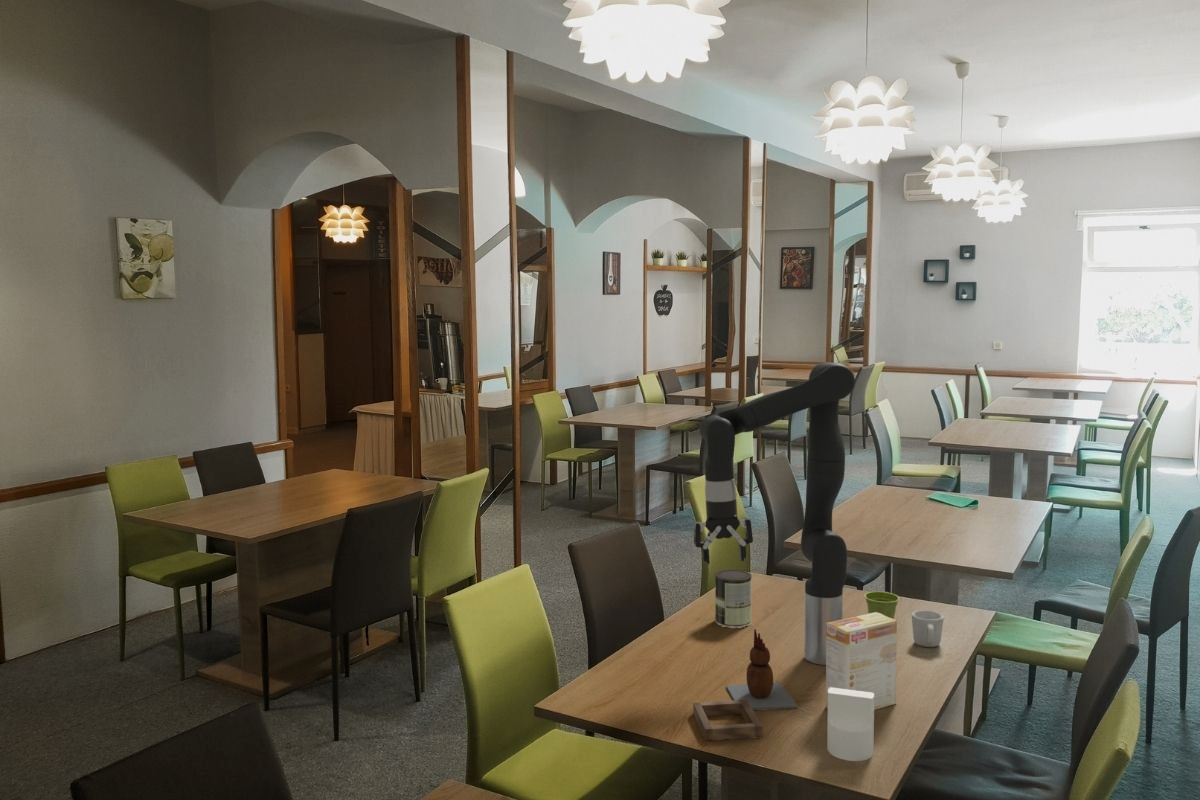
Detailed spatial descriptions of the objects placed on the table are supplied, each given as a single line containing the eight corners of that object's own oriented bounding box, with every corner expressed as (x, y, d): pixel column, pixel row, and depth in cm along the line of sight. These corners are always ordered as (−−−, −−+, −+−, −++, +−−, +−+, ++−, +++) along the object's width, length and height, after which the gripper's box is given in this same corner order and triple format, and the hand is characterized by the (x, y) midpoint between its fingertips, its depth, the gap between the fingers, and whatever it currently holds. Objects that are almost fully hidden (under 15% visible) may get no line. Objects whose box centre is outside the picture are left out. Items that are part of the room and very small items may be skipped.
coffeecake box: (874, 693, 212) (875, 611, 210) (897, 704, 206) (898, 620, 204) (824, 706, 205) (824, 621, 204) (846, 718, 199) (847, 631, 197)
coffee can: (708, 624, 261) (708, 575, 259) (725, 614, 269) (725, 567, 268) (741, 631, 255) (741, 581, 253) (757, 620, 263) (757, 572, 262)
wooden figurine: (743, 689, 214) (743, 627, 212) (768, 688, 214) (768, 626, 213) (750, 701, 207) (751, 637, 206) (776, 700, 208) (776, 636, 206)
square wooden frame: (746, 710, 204) (746, 699, 203) (762, 737, 191) (762, 726, 191) (693, 713, 203) (693, 702, 202) (705, 740, 190) (705, 729, 189)
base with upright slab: (824, 756, 182) (825, 698, 181) (829, 737, 191) (830, 681, 190) (871, 764, 179) (872, 704, 178) (875, 743, 187) (875, 687, 186)
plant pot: (902, 624, 258) (903, 594, 257) (893, 634, 250) (894, 603, 249) (869, 619, 263) (869, 589, 262) (859, 628, 255) (860, 598, 254)
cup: (947, 654, 235) (947, 624, 234) (914, 652, 237) (915, 622, 236) (940, 639, 246) (941, 610, 245) (909, 638, 247) (909, 609, 247)
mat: (780, 684, 218) (780, 682, 218) (797, 708, 205) (797, 705, 205) (726, 687, 216) (726, 685, 216) (739, 711, 204) (739, 709, 203)
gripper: (746, 492, 229) (750, 555, 231) (689, 496, 229) (693, 560, 230) (752, 498, 222) (756, 563, 224) (694, 502, 221) (698, 568, 223)
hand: (724, 561), depth 227 cm, fingers open, 8 cm apart
